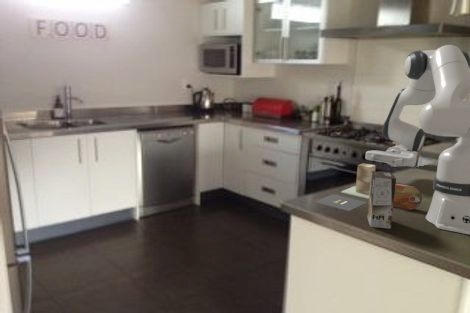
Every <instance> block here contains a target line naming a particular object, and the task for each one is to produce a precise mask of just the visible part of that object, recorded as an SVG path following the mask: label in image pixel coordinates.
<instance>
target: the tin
mask: <svg viewBox="0 0 470 313" xmlns="http://www.w3.org/2000/svg"><path fill="white" fill-rule="evenodd" d="M422 202H423V194H422V192H421V190H420V189H418V188H417V187H416V186H412V185H407V184H399V183H396V185H395V194H394V203H393V208H398V209H399V208H400V209H405V210H407V211H408V210H409V211H412V210H415V209H417V208H419V207H420V205H421V203H422Z"/></svg>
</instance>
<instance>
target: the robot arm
mask: <svg viewBox="0 0 470 313" xmlns="http://www.w3.org/2000/svg"><path fill="white" fill-rule="evenodd" d="M404 72H405V75H406V76H407V78H409V82H408V85H407V87H405V88H402V89H400V91H399V92H398V93H397V95H396V97H395V99H394V101H393V103H392V105H391V108H390V110H389V113H388V115H387V117H386V119H385V120H384V123H383V125H382V126H381V129H380V132H381V134H382V136H383V138H384V139H386V140H388V141H392V142H394V143H395V142H397V143H400V145H397V146H396V145H394V146H391V147H388V148H387V149H386V150H384V151H383V150H378V149H377V150H367V151H366V152H365V159H366V160H367V161H372V162H379V163H385V164H387V165H389V166H390V167H394V168H395V167H396V168H397V167H409V168H410V167H411V168H412V167H416V164H417V162H416V158H417V153H418V151H420V149H421V148H422V146H423V147H424V145H423V144H425V142H424V141H426V138H425V136H426V134H429V135H432V136H433V135H434V136H438V137H452V138H454V137H458V140H457V142H456V143H455V144H454V145H452V146H451V147H448V148H446V149H444V150H443V151H442V152H441V153H440V154H439V156H438V160H437V168H436V176H435V177H434V180H433V184H432V185H433V187H432V194H433V195H432V200H431V203H430V206H429V209H428V210H427V213H426V215H425V220H427V221H428V222H429V223H430V224H433V225H434V226H435V227H436V228H437V229H441V230H444V231H449V232H455V233H460V234H464V235H469V236H470V101H466V99H467V98H468V97H469V96H470V54H468V52H466V51H462V50H461V49H460V48H459V47H458V46H457V45H453V44H445V45H442V46H440V47H438V48H437V49H428V50H426V49H425V50H420V49H419V50H416V51H415V50H414V51H412V52H410V53H409V54H408V55H407V56H406V59H405V62H404ZM422 105H424V106H423V107H422V109H421V110H420V112H419V115H418V121H419V122H418V124H419V126H417V125H415V124H411V123H408V122H406V121H403V120H402V119H401V118H400V116H401V113H402V112H403V110H404V108H405V106H422ZM422 149H423V148H422Z"/></svg>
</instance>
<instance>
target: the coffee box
mask: <svg viewBox="0 0 470 313" xmlns="http://www.w3.org/2000/svg"><path fill="white" fill-rule="evenodd" d="M396 184H397V178H396V177H395V175H394V174H393V173H392V171H380V170H379V171H376V170H375V171H371V180H370V192H369V199H368V206H367V216H366V217H367V221H368V224H369V226H370V227H371V228H380V229H389V230H390V229H392V221H393V213H394V212H393V211H394V207H393V203H394V194H395V185H396Z"/></svg>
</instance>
